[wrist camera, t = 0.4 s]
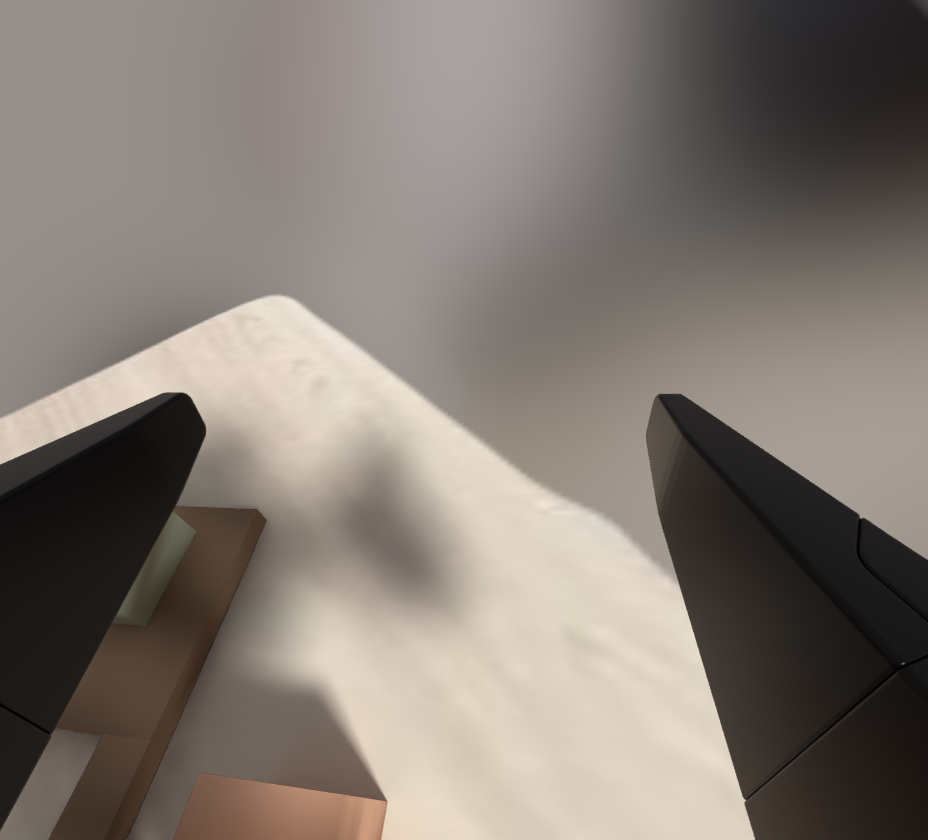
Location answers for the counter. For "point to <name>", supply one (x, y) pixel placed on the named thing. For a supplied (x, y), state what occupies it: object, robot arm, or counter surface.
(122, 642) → the puzzle board
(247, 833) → the terracotta block
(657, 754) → the counter surface
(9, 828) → the counter surface
